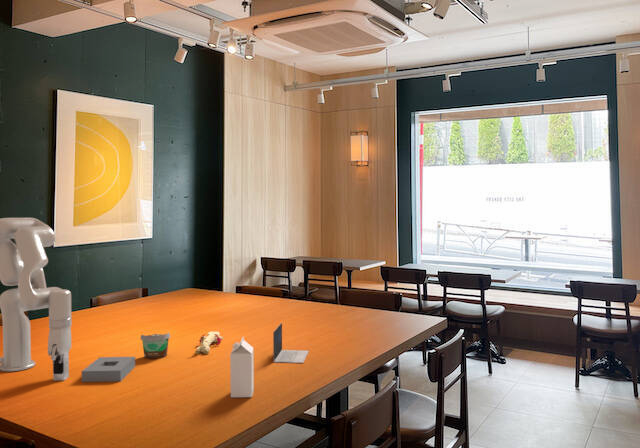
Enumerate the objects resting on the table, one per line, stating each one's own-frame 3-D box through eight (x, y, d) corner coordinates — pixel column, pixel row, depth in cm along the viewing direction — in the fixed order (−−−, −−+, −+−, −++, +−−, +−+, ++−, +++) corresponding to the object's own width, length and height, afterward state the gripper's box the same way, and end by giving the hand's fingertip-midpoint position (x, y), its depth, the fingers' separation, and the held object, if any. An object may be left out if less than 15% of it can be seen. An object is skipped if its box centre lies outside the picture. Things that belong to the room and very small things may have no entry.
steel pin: (53, 380, 193) (52, 351, 193) (57, 377, 197) (57, 348, 197) (64, 380, 193) (63, 350, 193) (68, 376, 197) (68, 348, 197)
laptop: (303, 364, 214) (302, 332, 214) (273, 363, 216) (272, 332, 215) (308, 352, 232) (308, 323, 232) (281, 351, 234) (281, 322, 233)
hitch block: (81, 382, 192) (81, 371, 192) (99, 367, 210) (99, 357, 210) (120, 381, 193) (120, 370, 192) (135, 366, 210) (135, 356, 210)
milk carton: (253, 390, 183) (253, 336, 182) (251, 397, 176) (251, 341, 175) (233, 390, 183) (233, 336, 182) (230, 398, 176) (230, 341, 175)
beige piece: (213, 357, 228) (225, 338, 253) (212, 338, 227) (225, 321, 252) (190, 357, 228) (205, 338, 253) (190, 338, 227) (204, 320, 252)
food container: (139, 361, 218) (139, 337, 218) (140, 356, 224) (140, 333, 224) (170, 358, 221) (170, 335, 221) (170, 354, 227) (170, 331, 227)
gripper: (59, 318, 203) (60, 365, 203) (39, 328, 186) (39, 379, 187) (79, 318, 203) (80, 364, 204) (60, 328, 186) (61, 379, 187)
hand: (61, 371), depth 195 cm, fingers closed on steel pin, 4 cm apart
